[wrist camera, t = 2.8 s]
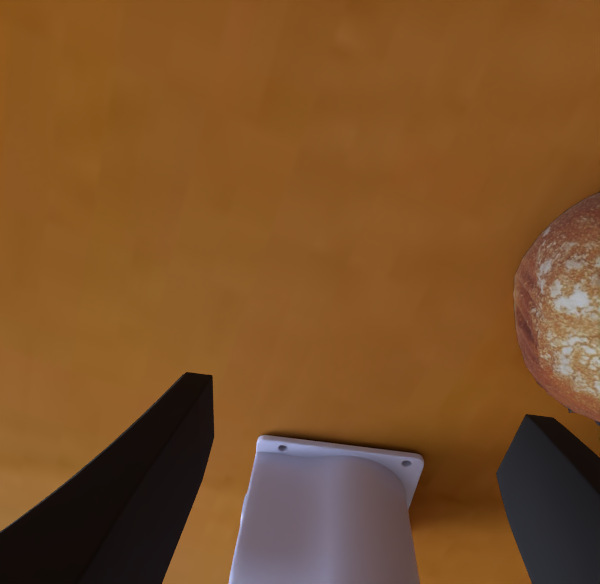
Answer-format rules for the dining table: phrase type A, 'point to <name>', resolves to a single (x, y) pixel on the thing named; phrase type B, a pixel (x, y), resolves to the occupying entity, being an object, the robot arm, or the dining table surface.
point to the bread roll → (563, 308)
